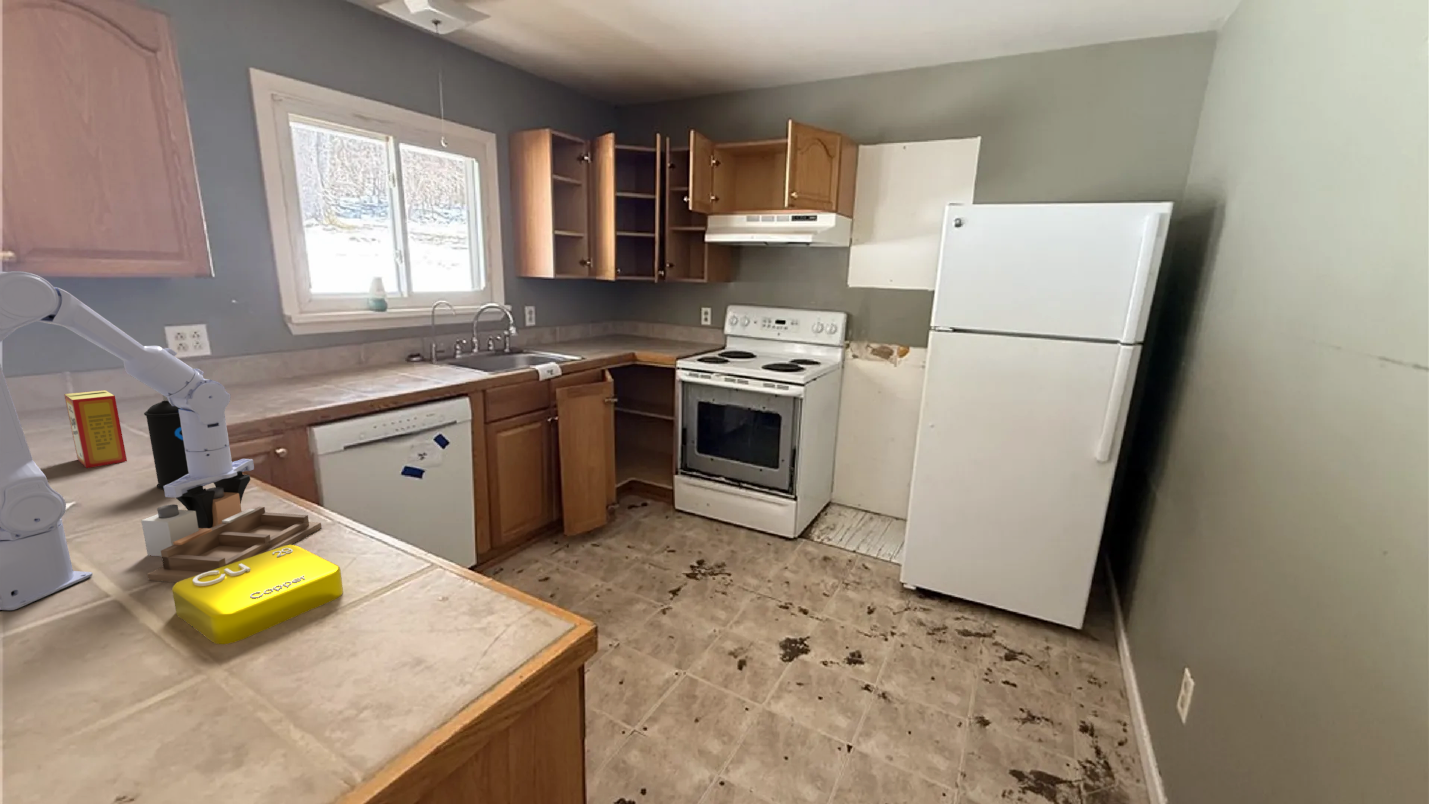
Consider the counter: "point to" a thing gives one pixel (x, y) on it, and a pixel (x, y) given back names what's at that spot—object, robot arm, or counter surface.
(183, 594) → the element tile
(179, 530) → the grey plug
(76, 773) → the counter surface
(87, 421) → the baking soda box
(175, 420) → the aerosol can
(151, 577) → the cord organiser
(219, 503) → the orange plug
